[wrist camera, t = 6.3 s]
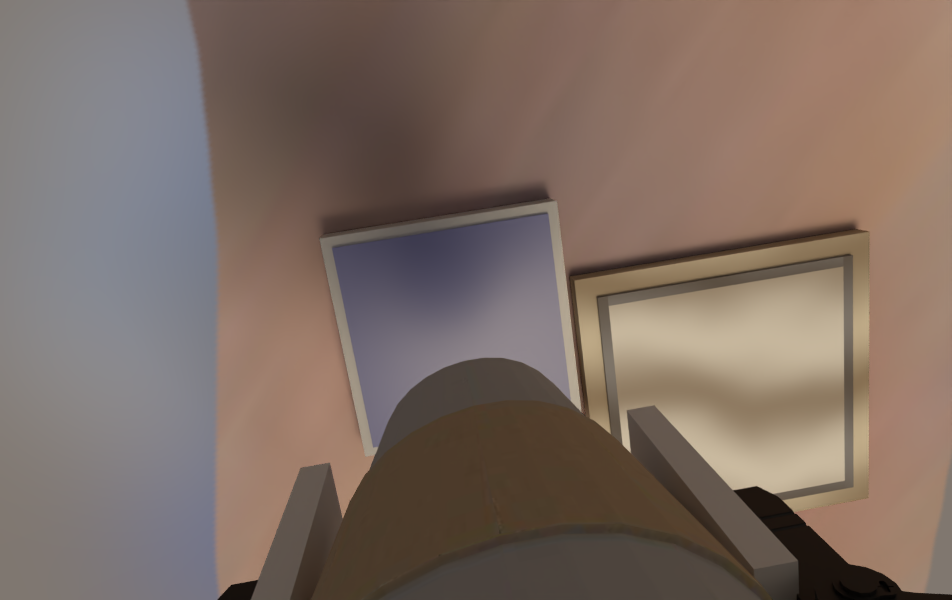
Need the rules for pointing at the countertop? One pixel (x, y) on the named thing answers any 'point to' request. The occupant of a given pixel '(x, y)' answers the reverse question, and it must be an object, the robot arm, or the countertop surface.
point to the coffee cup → (516, 505)
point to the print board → (741, 360)
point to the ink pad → (449, 301)
